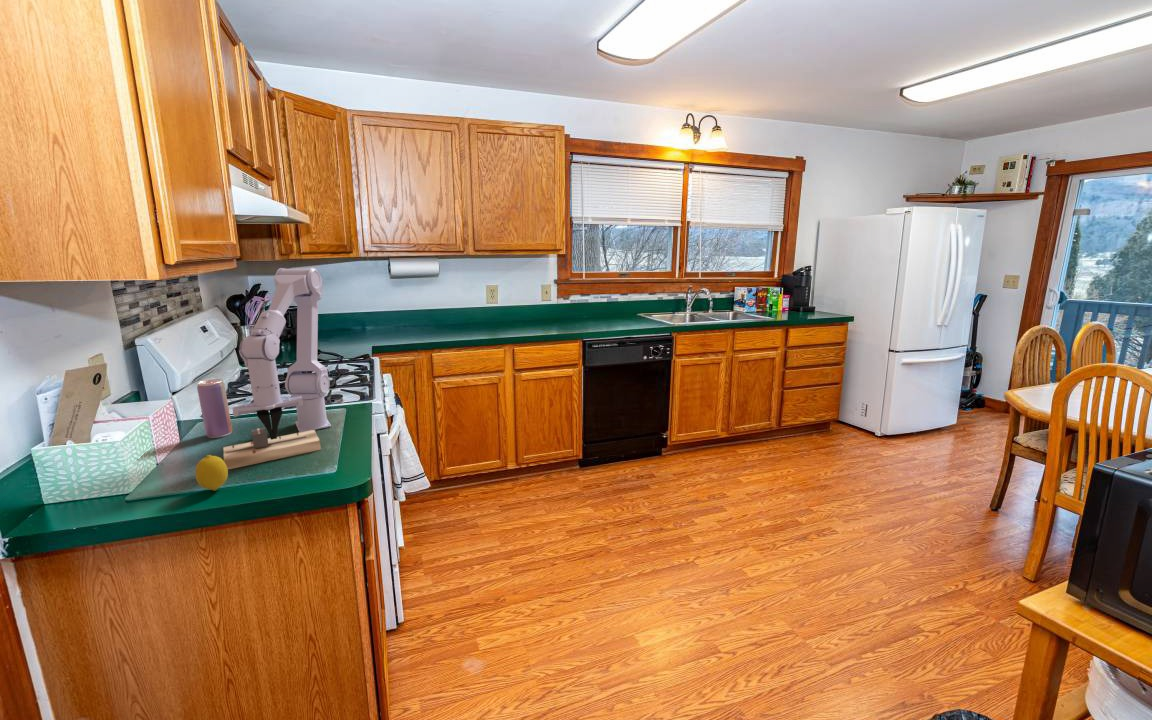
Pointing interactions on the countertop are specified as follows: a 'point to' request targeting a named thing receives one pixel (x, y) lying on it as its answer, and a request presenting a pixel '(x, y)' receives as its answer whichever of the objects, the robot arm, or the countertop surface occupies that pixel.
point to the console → (271, 449)
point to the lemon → (211, 472)
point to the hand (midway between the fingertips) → (273, 437)
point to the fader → (259, 437)
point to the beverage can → (214, 408)
